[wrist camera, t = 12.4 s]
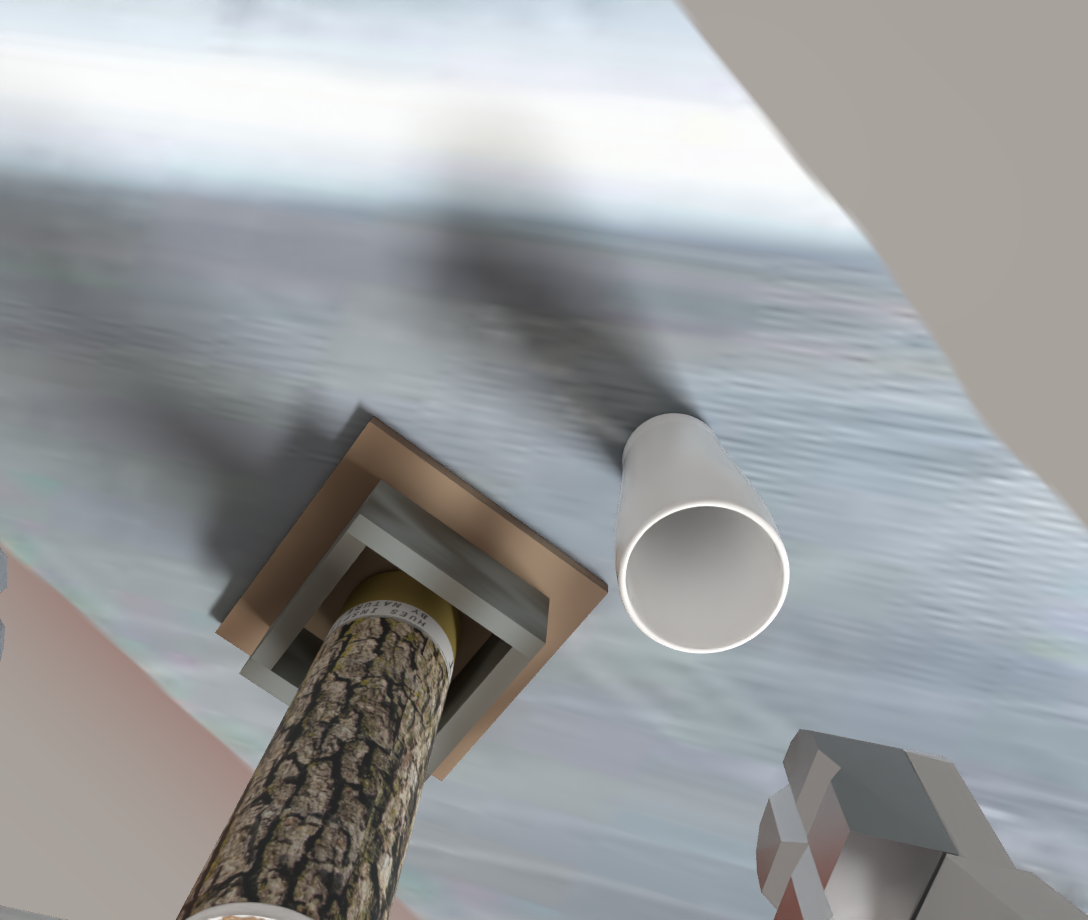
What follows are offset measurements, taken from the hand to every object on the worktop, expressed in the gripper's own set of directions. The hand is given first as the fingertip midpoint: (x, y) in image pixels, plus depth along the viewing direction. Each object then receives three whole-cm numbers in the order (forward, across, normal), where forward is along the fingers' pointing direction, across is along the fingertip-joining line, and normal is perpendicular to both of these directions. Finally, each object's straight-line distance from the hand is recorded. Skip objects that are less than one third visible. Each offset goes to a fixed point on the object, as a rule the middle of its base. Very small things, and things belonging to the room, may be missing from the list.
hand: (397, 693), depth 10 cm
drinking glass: (+40, -9, +9) cm, 42 cm away
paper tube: (+39, +3, +22) cm, 45 cm away
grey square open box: (+40, +3, +21) cm, 45 cm away
